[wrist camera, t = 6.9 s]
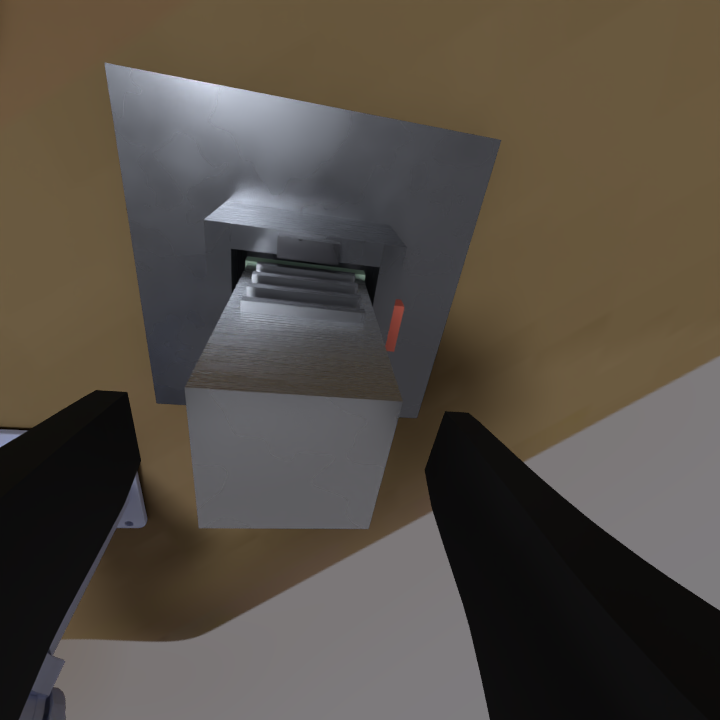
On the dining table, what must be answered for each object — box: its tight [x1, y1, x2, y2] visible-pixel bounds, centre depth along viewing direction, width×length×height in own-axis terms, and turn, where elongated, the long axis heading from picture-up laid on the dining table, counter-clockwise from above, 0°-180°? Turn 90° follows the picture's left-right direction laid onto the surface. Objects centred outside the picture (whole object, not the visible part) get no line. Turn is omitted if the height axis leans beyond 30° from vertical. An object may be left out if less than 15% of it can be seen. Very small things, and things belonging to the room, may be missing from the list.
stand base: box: [105, 63, 501, 418], centre depth 16 cm, size 14×14×5 cm
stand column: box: [185, 256, 403, 529], centre depth 11 cm, size 4×4×8 cm
